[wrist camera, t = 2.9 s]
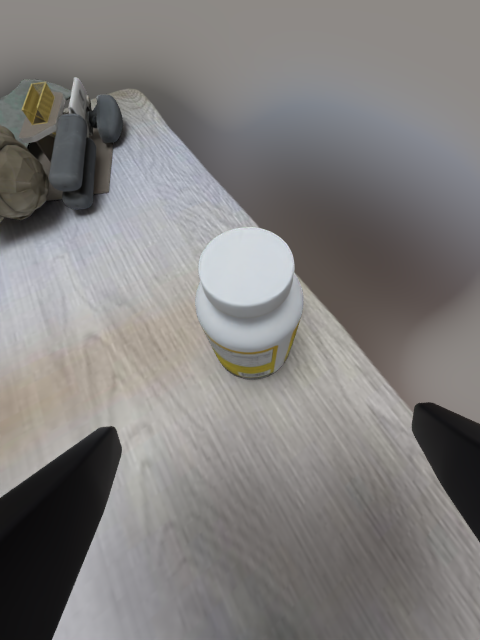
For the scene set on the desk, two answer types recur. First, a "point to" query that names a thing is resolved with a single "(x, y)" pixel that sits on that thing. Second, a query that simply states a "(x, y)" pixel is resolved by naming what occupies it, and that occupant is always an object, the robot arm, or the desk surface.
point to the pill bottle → (249, 300)
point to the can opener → (81, 145)
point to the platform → (42, 131)
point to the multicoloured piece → (19, 179)
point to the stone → (10, 106)
